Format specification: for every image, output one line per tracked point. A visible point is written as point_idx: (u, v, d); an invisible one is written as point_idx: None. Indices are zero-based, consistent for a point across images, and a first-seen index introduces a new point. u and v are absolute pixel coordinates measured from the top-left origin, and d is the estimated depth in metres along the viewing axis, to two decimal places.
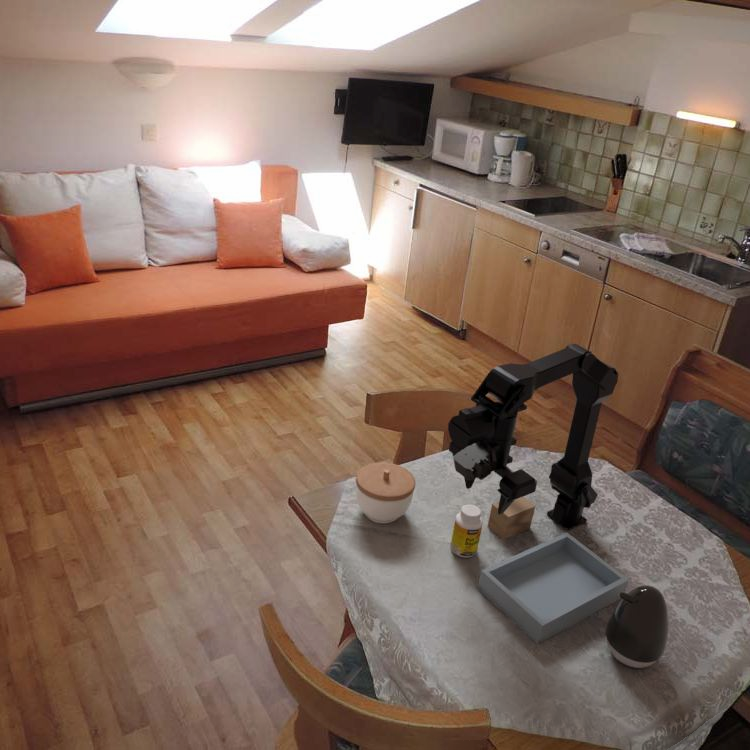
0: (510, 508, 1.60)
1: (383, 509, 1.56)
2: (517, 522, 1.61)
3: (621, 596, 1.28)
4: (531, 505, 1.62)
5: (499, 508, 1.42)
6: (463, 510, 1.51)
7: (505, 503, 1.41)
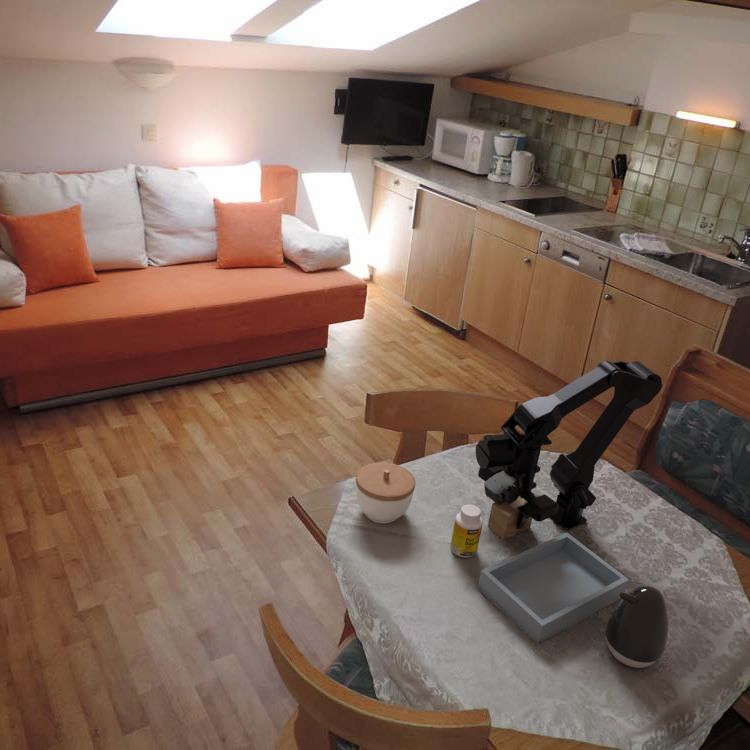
0: (510, 508, 1.60)
1: (383, 509, 1.56)
2: None
3: (621, 596, 1.28)
4: None
5: (518, 523, 1.60)
6: (463, 510, 1.51)
7: (523, 519, 1.59)
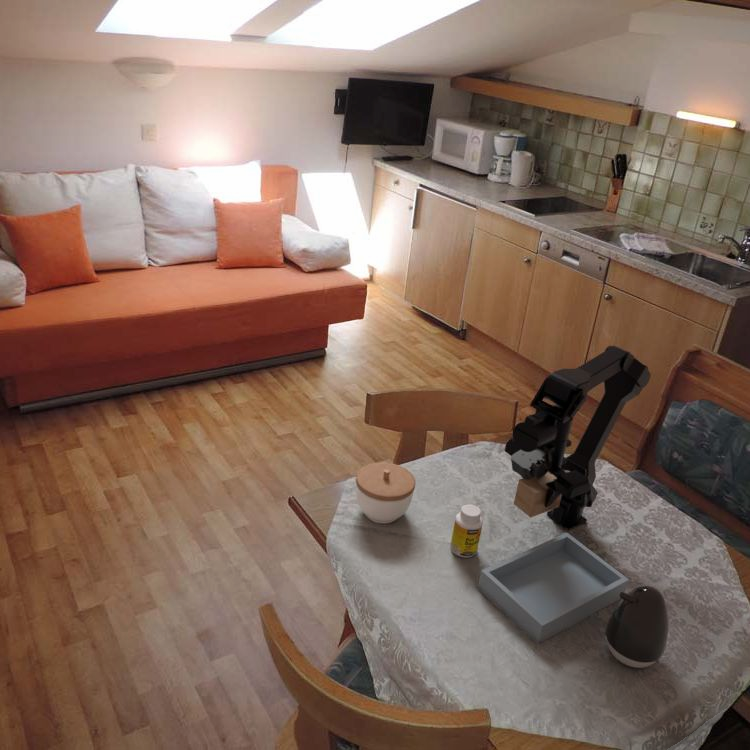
0: (538, 484, 1.51)
1: (383, 509, 1.56)
2: (545, 499, 1.51)
3: (621, 596, 1.28)
4: None
5: (546, 501, 1.51)
6: (463, 510, 1.51)
7: (552, 497, 1.50)
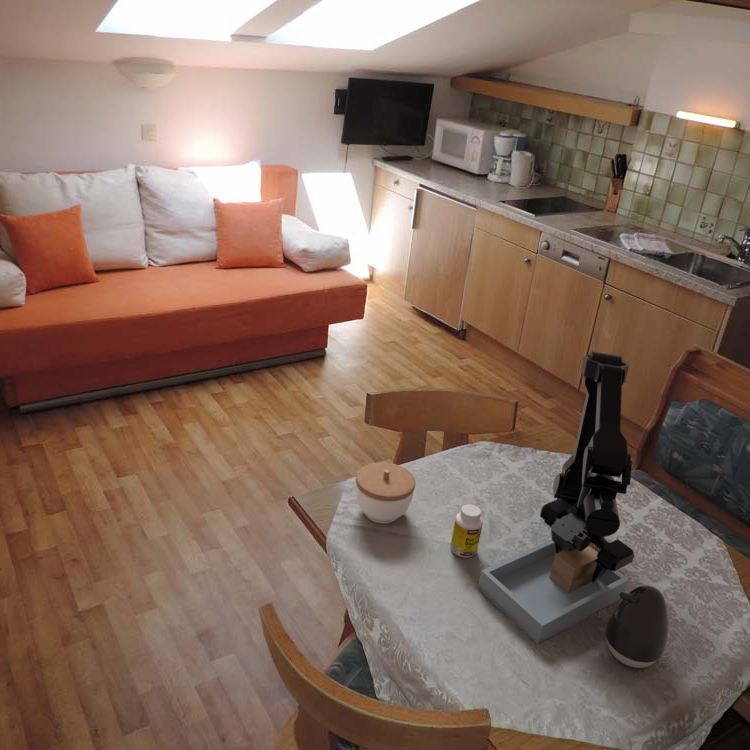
0: (575, 559, 1.46)
1: (383, 509, 1.56)
2: (583, 574, 1.46)
3: (621, 596, 1.28)
4: None
5: (594, 576, 1.44)
6: (463, 510, 1.51)
7: (601, 572, 1.43)
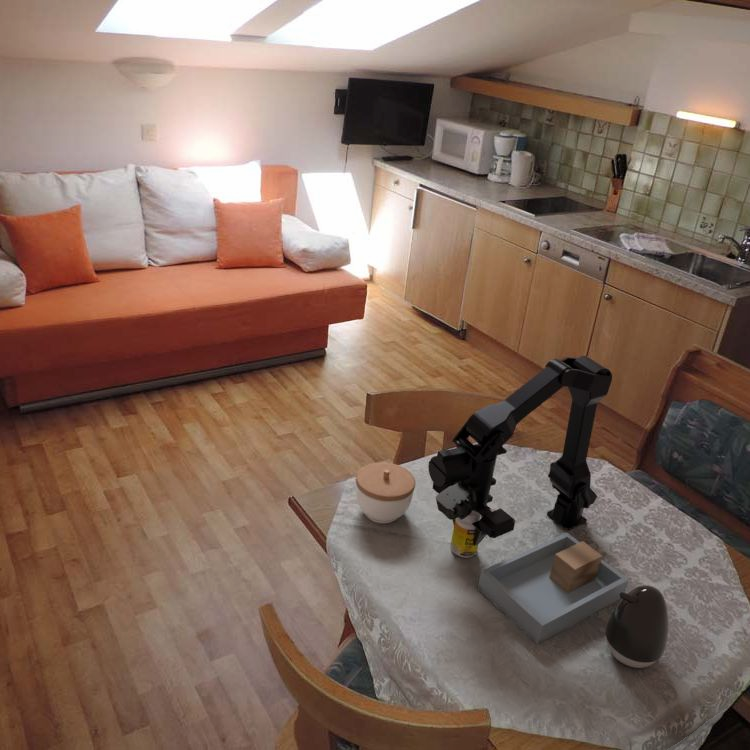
0: (575, 559, 1.46)
1: (383, 509, 1.56)
2: (583, 574, 1.46)
3: (621, 596, 1.28)
4: (597, 555, 1.48)
5: (474, 540, 1.51)
6: None
7: (480, 535, 1.50)
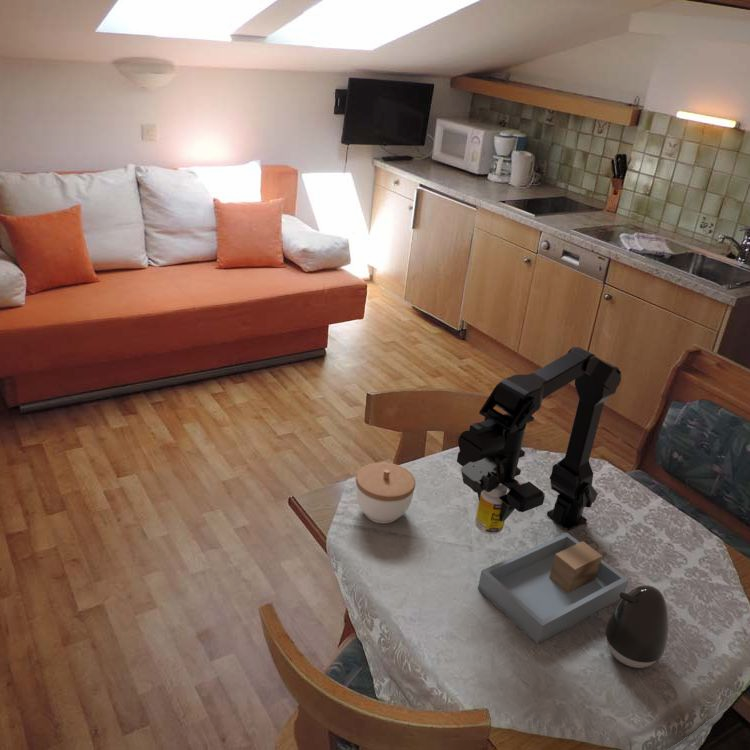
0: (575, 559, 1.46)
1: (383, 509, 1.56)
2: (583, 574, 1.46)
3: (621, 596, 1.28)
4: (597, 555, 1.48)
5: (501, 515, 1.43)
6: None
7: (507, 510, 1.42)
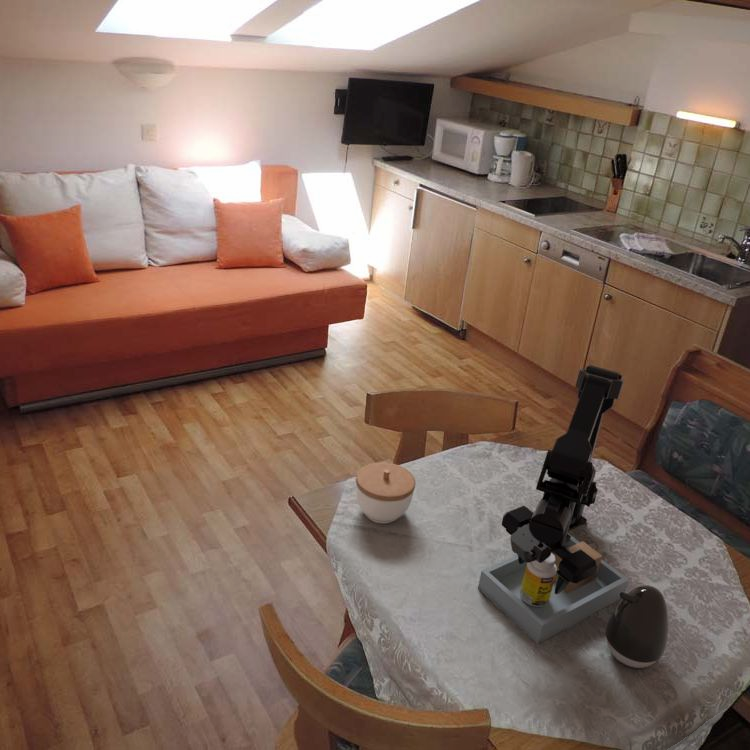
0: None
1: (383, 509, 1.56)
2: None
3: (621, 596, 1.28)
4: (597, 555, 1.48)
5: (556, 588, 1.37)
6: None
7: (563, 584, 1.36)
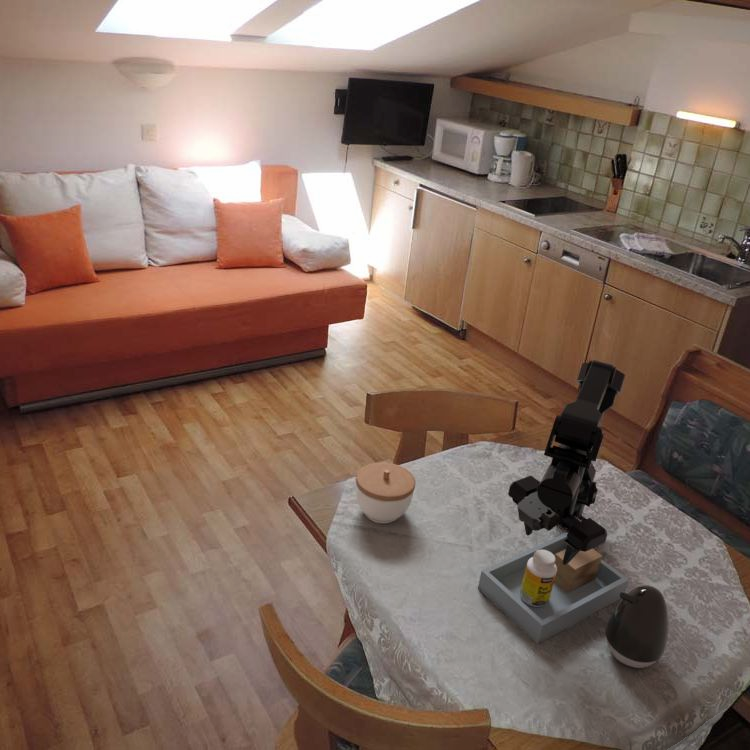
0: (575, 559, 1.46)
1: (383, 509, 1.56)
2: (583, 574, 1.46)
3: (621, 596, 1.28)
4: (597, 555, 1.48)
5: (564, 558, 1.34)
6: (536, 556, 1.39)
7: (572, 553, 1.32)
